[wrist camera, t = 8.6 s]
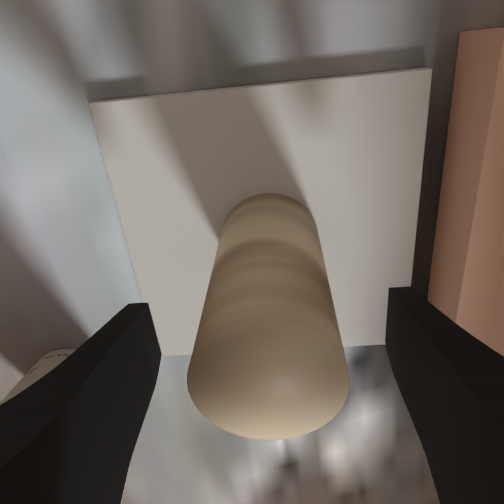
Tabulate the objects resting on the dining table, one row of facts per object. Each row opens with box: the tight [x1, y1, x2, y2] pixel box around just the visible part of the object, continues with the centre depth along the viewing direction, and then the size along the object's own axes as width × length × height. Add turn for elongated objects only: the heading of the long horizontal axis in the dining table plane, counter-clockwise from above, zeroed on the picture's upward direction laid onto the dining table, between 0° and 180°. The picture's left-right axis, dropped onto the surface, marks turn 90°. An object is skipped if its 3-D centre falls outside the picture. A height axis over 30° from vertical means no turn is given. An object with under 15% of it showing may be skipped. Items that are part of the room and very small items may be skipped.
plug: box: [187, 193, 350, 440], centre depth 14 cm, size 4×4×8 cm
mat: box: [88, 67, 432, 356], centre depth 18 cm, size 12×12×1 cm
